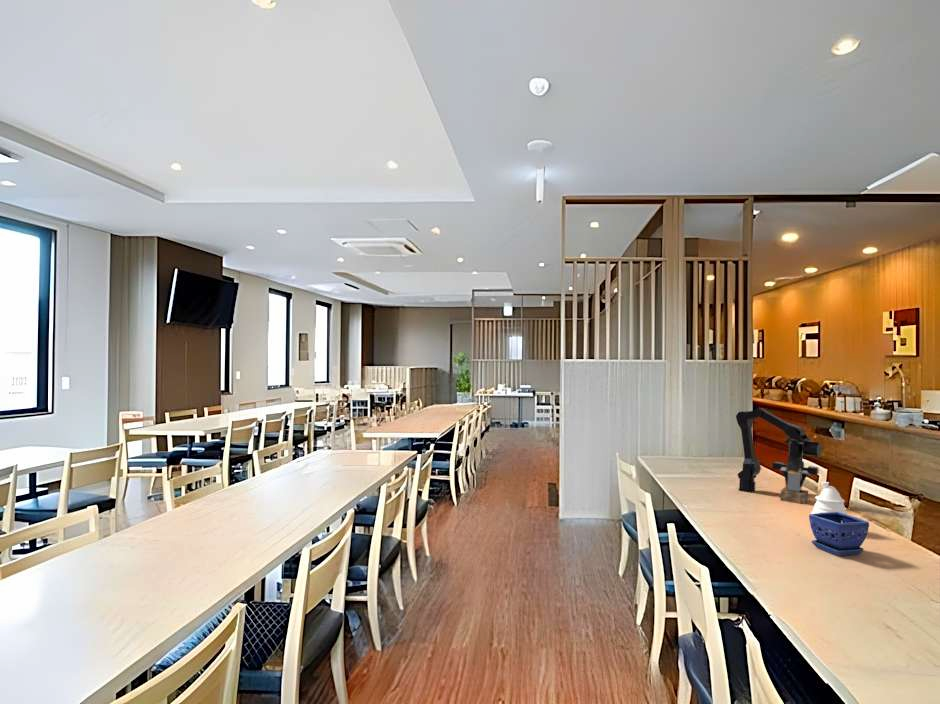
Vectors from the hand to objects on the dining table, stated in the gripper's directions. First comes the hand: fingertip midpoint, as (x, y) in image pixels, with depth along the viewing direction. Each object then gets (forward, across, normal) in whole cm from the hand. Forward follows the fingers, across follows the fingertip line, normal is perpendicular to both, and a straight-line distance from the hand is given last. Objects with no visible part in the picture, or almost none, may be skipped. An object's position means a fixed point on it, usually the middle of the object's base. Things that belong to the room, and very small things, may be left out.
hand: (794, 486), depth 281 cm
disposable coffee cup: (+7, -3, +16) cm, 18 cm away
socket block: (+7, 0, 0) cm, 7 cm away
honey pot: (+7, +19, -41) cm, 46 cm away
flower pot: (+7, +25, -72) cm, 77 cm away
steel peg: (+2, 0, 0) cm, 2 cm away
